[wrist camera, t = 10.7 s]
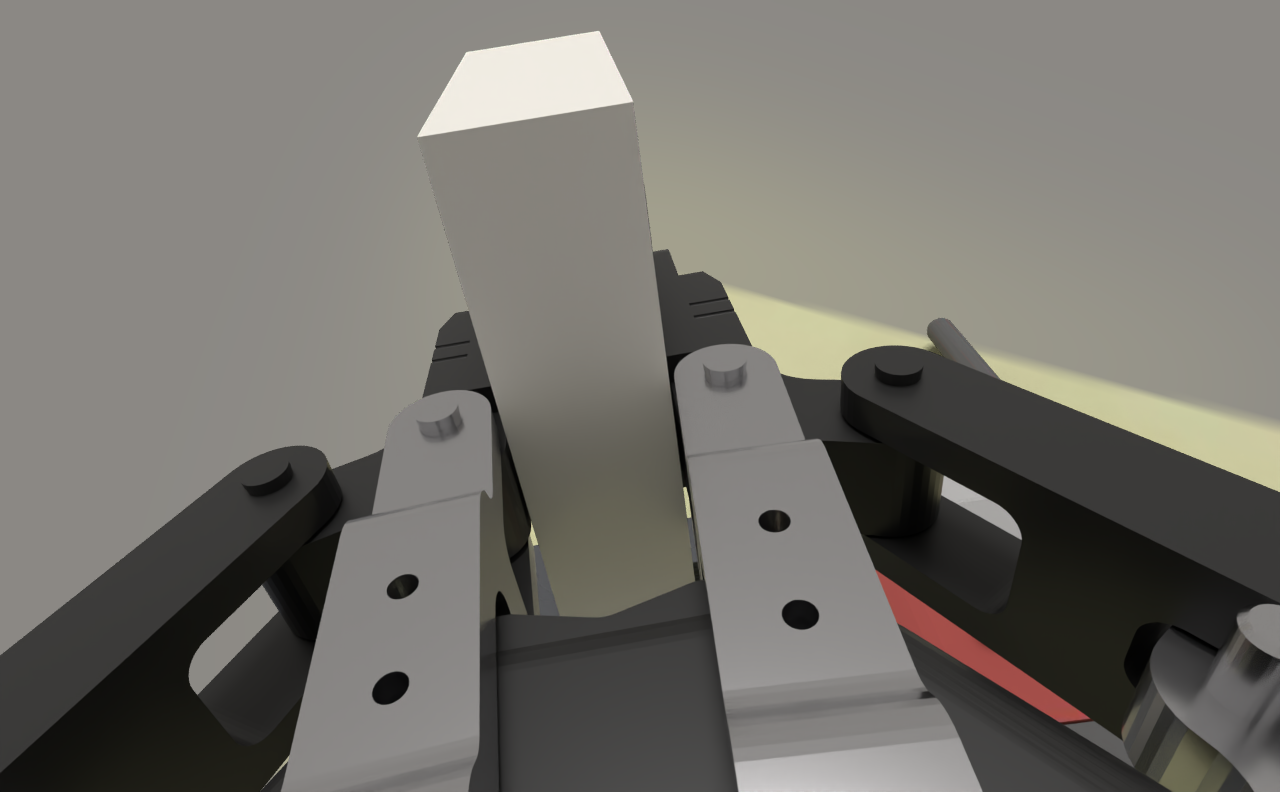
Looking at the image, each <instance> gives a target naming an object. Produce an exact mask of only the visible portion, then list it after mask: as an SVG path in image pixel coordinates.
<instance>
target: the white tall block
mask: <svg viewBox="0 0 1280 792" xmlns="http://www.w3.org/2000/svg"><path fill="white" fill-rule="evenodd" d="M417 139H418V143H419V146H420V149H421V153H422V156H423V159H424V163H425V166H426V169H427V173H428V176H429V179H430V183H431V186H432V189H433V193H434V196H435V199H436V203H437V206H438V210H439V213H440V216H441V219H442V223H443V226H444V230H445V233H446V236H447V240H448V243H449V246H450V250H451V253H452V256H453V260H454V263H455V267H456V270H457V273H458V277H459V280H460V283H461V287H462V290H463V293H464V296H465V300H466V303H467V307H468V310H469V314H470V317H471V320H472V324H473V327H474V330H475V334H476V337H477V340H478V344H479V347H480V350H481V354H482V357H483V360H484V364H485V367H486V370H487V374H488V377H489V381H490V384H491V387H492V391H493V394H494V397H495V401H496V404H497V407H498V411H499V414H500V417H501V421H502V424H503V427H504V431H505V434H506V438H507V441H508V444H509V448H510V451H511V454H512V458H513V461H514V464H515V468H516V471H517V474H518V478H519V481H520V484H521V488H522V491H523V495H524V498H525V501H526V505H527V508H528V511H529V515H530V518H531V521H532V525H533V528H534V531H535V535H536V538H537V541H538V545H539V548H540V551H541V555H542V558H543V562H544V565H545V568H546V572H547V575H548V578H549V582H550V585H551V588H552V592H553V595H554V598H555V602H556V605H557V608H558V612H559V615H560V616H570V617H605V616H609V615H612V614H615V613H618V612H620V611H623V610H625V609H627V608H630V607H632V606H635V605H637V604H640V603H642V602H645V601H647V600H650V599H652V598H655V597H657V596H660V595H662V594H665V593H667V592H669V591H672V590H674V589H677V588H679V587H682V586H684V585H687V584H689V583H692V582H695V576H694V568H693V561H692V553H691V545H690V537H689V530H688V522H687V514H686V507H685V499H684V491H683V483H682V476H681V468H680V460H679V452H678V445H677V437H676V429H675V422H674V414H673V406H672V398H671V391H670V383H669V375H668V367H667V360H666V352H665V344H664V336H663V326H662V318H661V311H660V303H659V295H658V287H657V280H656V272H655V264H654V256H653V250H652V241H651V233H650V226H649V218H648V210H647V203H646V195H645V187H644V182H643V174H642V166H641V159H640V151H639V144H638V136H637V129H636V120H635V112H634V104H633V101H632V99H631V96H630V94H629V92H628V90H627V88H626V86H625V84H624V82H623V80H622V78H621V75H620V73H619V71H618V69H617V67H616V65H615V63H614V61H613V59H612V57H611V55H610V53H609V50H608V48H607V46H606V44H605V42H604V40H603V38H602V36H601V34H600V32H599V31H595V32H589V33H582V34H576V35H570V36H564V37H558V38H552V39H545V40H539V41H533V42H527V43H521V44H515V45H508V46H502V47H496V48H490V49H484V50H478V51H471V52H467V53H466V54H465V56H464V57H463V59H462V61H461V63H460V64H459V66H458V68H457V69H456V71H455V73H454V75H453V76H452V78H451V80H450V82H449V84H448V85H447V87H446V88H445V90H444V92H443V94H442V95H441V97H440V99H439V100H438V102H437V104H436V105H435V107H434V109H433V111H432V113H431V114H430V116H429V117H428V120H427V121H426V123H425V124H424V126H423V128H422V130H421V131H420V133H419V135H418V137H417Z"/></svg>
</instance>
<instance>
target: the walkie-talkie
mask: <svg viewBox="0 0 1280 792" xmlns="http://www.w3.org/2000/svg"><path fill="white" fill-rule="evenodd" d="M927 335H928V337H929V338H930V340H931V341H932V342H933V343H934V345H935V346H936V347H937V349H938V350H939V351H940V352H941V354H942V355H943V356H944V357H945V358H947V359H950V360H952V361H955V362H957V363H960V364H962V365H965V366H967V367H970V368H972V369H975V370H977V371H980V372H982V373H985V374H987V375H990V376H992V377H995V378H997V379H1000V378H999V377H998V376H997V375H996V374H995V373H994V371H993V370H992V369H991V368H990V367H989V366H988V364H987V363H986V362H985V361H984V360H983V359H982V357H981V356H980V355H979V354H978V353H977V352H976V350H975V349H974V348H973V347H972V346H971V345H970V343H969V342H968V341H967V340H966V339H965V338H964V336H963V335H962V334H961V333H960V332H959V331H958V329H957V328H956V327H955V326H954V325H953V324H952V322H951V321H950V320H948V319H945V318H938V319H936V320H933V321H932V322H931V323H930V324H929V325H928V329H927ZM941 495H942V496H944V497H946V498H947V499H949V500H951V501H953V502H954V503H956V504H958V505H960V506H962V507H963V508H965V509H967V510H969V511H971V512H972V513H974V514H976V515H978V516H980V517H981V518H983V519H985V520H987V521H989V522H990V523H992V524H994V525H996V526H997V527H999V528H1001V529H1003V530H1005V531H1006V532H1008V533H1010V534H1012V535H1014V536H1015V537H1017V538H1019V539H1021V540H1022V537H1021V533H1020V530H1019V527H1018V525H1017V524H1016V522H1015V520H1014V519H1013V518H1012V517H1011V515H1010V514H1009V513H1008V512H1007V511H1006V510H1004V509H1003V508H1002V507H1001V506H999V505H998V504H996V503H994V502H992V501H991V500H989V499H987V498H985V497H983V496H981V495H979V494H977V493H976V492H974V491H972V490H970V489H968V488H966V487H964V486H962V485H961V484H959V483H957V482H955V481H953V480H951V479H949V478H947V477H946V476H944V479H943V486H942V493H941ZM876 573H877V575H878V578H879V580H880V583H881V585H882V588H883V590H884V592H885V595H886V597H887V600H888V602H889V605H890V607H891V610H892V612H893V614H894V617H895V619H896V622H897V623H898V624H900V625H902V626H903V627H905V628H907V629H908V630H910V631H912V632H913V633H915V634H917V635H918V636H920V637H921V638H923V639H925V640H926V641H928V642H930V643H931V644H933V645H934V646H936V647H938V648H939V649H941V650H943V651H944V652H946V653H948V654H949V655H951V656H952V657H954V658H956V659H957V660H959V661H961V662H962V663H964V664H965V665H967V666H969V667H970V668H972V669H974V670H975V671H977V672H979V673H980V674H982V675H983V676H985V677H987V678H988V679H990V680H992V681H993V682H995V683H996V684H998V685H1000V686H1001V687H1003V688H1005V689H1006V690H1008V691H1009V692H1011V693H1013V694H1014V695H1016V696H1018V697H1019V698H1021V699H1023V700H1024V701H1026V702H1027V703H1029V704H1031V705H1032V706H1034V707H1036V708H1037V709H1039V710H1040V711H1042V712H1044V713H1045V714H1047V715H1049V716H1050V717H1052V718H1053V719H1055V720H1057V721H1058V722H1060V723H1062V724H1063V725H1065V726H1067V727H1068V728H1070V729H1071V730H1073V731H1075V732H1076V733H1078V734H1080V735H1081V736H1083V737H1084V738H1086V739H1088V740H1089V741H1091V742H1093V743H1094V744H1096V745H1097V746H1099V747H1101V748H1102V749H1104V750H1106V751H1107V752H1109V753H1111V754H1112V755H1114V756H1115V757H1117V758H1119V759H1120V760H1122V761H1124V762H1125V763H1127V764H1128V765H1130V766H1132V767H1133V768H1134V766H1133V764H1132V762H1131V761H1130V759H1129V757H1128V755H1127V752H1126V750H1125V747H1124V744H1123V741H1122V740H1121V739H1119V738H1118V737H1116V736H1115V735H1114V734H1112V733H1111V732H1109V731H1108V730H1106V729H1105V728H1103V727H1102V726H1101V725H1099V724H1098V723H1096V722H1095V721H1093V720H1092V719H1090V718H1089V717H1088V716H1086V715H1085V714H1083V713H1082V712H1080V711H1079V710H1077V709H1076V708H1075V707H1073V706H1072V705H1070V704H1069V703H1067V702H1066V701H1064V700H1063V699H1062V698H1060V697H1059V696H1057V695H1056V694H1054V693H1053V692H1051V691H1050V690H1049V689H1047V688H1046V687H1044V686H1043V685H1041V684H1040V683H1038V682H1037V681H1036V680H1034V679H1033V678H1031V677H1030V676H1028V675H1027V674H1025V673H1024V672H1023V671H1021V670H1020V669H1018V668H1017V667H1015V666H1014V665H1012V664H1011V663H1010V662H1008V661H1007V660H1005V659H1004V658H1002V657H1001V656H999V655H998V654H997V653H995V652H994V651H992V650H991V649H989V648H988V647H986V646H985V645H984V644H982V643H981V642H979V641H978V640H976V639H975V638H973V637H972V636H971V635H969V634H968V633H966V632H965V631H963V630H962V629H960V628H959V627H958V626H956V625H955V624H953V623H952V622H950V621H949V620H947V619H946V618H945V617H943V616H942V615H940V614H939V613H937V612H936V611H934V610H933V609H932V608H930V607H929V606H927V605H926V604H924V603H923V602H921V601H920V600H919V599H917V598H916V597H914V596H913V595H911V594H910V593H908V592H907V591H906V590H904V589H903V588H901V587H900V586H898V585H897V584H895V583H894V582H893V581H891V580H890V579H888V578H887V577H885V576H884V575H882V574H881V573H880V572H878V571H877V570H876Z"/></svg>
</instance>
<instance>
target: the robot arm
mask: <svg viewBox="0 0 1280 792" xmlns="http://www.w3.org/2000/svg"><path fill="white" fill-rule="evenodd" d="M653 256H654V264H655V272H656V280H657V287H658V295H659V303H660V311H661V318H662V326H663V336H664V344H665V352H666V360H667V367H668V375H669V383H670V391H671V398H672V406H673V414H674V422H675V429H676V437H677V445H678V452H679V460H680V468H681V476H682V483H683V487H686V488H687V492H688V496H689V502H690V510H691V518H692V526H693V533H694V540H695V547H696V554H697V561H698V568H699V575H700V581H695V582H692V583H689V584H687V585H684V586H682V587H679V588H677V589H674V590H672V591H669V592H667V593H665V594H662V595H660V596H657V597H655V598H652V599H650V600H647V601H645V602H642V603H640V604H637V605H635V606H632V607H630V608H627V609H625V610H623V611H620V612H618V613H615V614H612V615H609V616H605V617H570V616H545V615H540V609H539V598H538V586H537V574H536V563H535V552H534V547H533V544H532V540H531V537H530V532H531V518H530V515H529V511H528V508H527V505H526V501H525V498H524V495H523V491H522V488H521V484H520V481H519V478H518V474H517V471H516V468H515V464H514V461H513V458H512V454H511V451H510V448H509V444H508V441H507V438H506V434H505V431H504V427H503V424H502V421H501V417H500V414H499V411H498V407H497V404H496V401H495V397H494V394H493V391H492V387H491V384H490V381H489V377H488V374H487V370H486V367H485V364H484V360H483V357H482V354H481V350H480V347H479V344H478V340H477V337H476V334H475V330H474V327H473V324H472V320H471V317H470V314H469V311H465V312H459V313H455V314H454V315H453V316H452V317H451V318H450V319H449V320H448V321H447V322H446V323H445V325H443V327H442V328H441V329H440V330H439V334H438V338H437V342H436V346H435V347H436V349H435V350H434V354H433V358H432V363H431V366H430V370H429V374H428V378H427V382H426V386H425V390H424V394H423V398H422V399H420V400H417V401H415V402H414V403H412V404H410V405H409V406H407V407H406V408H404V409H403V410H402V411H401V412H399V413H398V414H397V415H396V416H395V418H394V419H393V420H392V422H391V423H390V425H389V428H388V431H387V436H386V442H385V447H384V449H382V450H380V451H378V452H376V453H374V454H371V455H369V456H366V457H364V458H361V459H359V460H356V461H353V462H350V463H348V464H345V465H343V466H339V467H337V468H335V469H331V467H330V465H329V463H328V460H327V458H326V456H325V455H324V454H323V453H322V451H320V450H318V449H316V448H313V447H308V446H290V447H284V448H280V449H276V450H272V451H269V452H266V453H264V454H261V455H259V456H257V457H255V458H253V459H251V460H249V461H247V462H245V463H244V464H242V465H240V466H239V467H238V468H236V469H235V470H233V471H232V472H231V473H229V474H228V475H227V476H226V477H224V478H223V479H222V480H221V481H220V482H218V483H217V484H216V485H214V486H213V487H212V488H211V489H209V490H208V491H207V492H206V493H204V494H203V495H202V496H201V497H199V498H198V499H197V500H195V501H194V502H193V503H192V504H190V505H189V506H188V507H187V508H185V509H184V510H183V511H182V512H181V513H179V514H178V515H177V516H175V517H174V518H173V519H172V520H170V521H169V522H168V523H167V524H165V525H164V526H163V527H162V528H160V529H159V530H158V531H156V532H155V533H154V534H153V535H151V536H150V537H149V538H148V539H146V540H145V541H144V542H143V543H142V544H140V545H139V546H138V547H136V548H135V549H134V550H133V551H131V552H130V553H129V554H128V555H126V556H125V557H124V558H123V559H121V560H120V561H119V562H117V563H116V564H115V565H114V566H112V567H111V568H110V569H109V570H107V571H106V572H105V573H104V574H102V575H101V576H100V577H99V578H97V579H96V580H95V581H93V582H92V583H91V584H90V585H89V586H87V587H86V588H85V589H83V590H82V591H81V592H80V593H78V594H77V595H76V596H75V597H73V598H72V599H71V600H70V601H69V602H67V603H66V604H65V605H63V606H62V607H61V608H60V609H58V610H57V611H56V612H54V613H53V614H52V615H51V616H49V617H48V618H47V619H46V620H45V621H43V622H42V623H41V624H39V625H38V626H37V627H36V628H34V629H33V630H32V631H31V632H29V633H28V634H27V635H26V636H24V637H23V638H22V639H20V640H19V641H18V642H17V643H15V644H14V645H13V646H12V647H11V648H9V649H8V650H7V651H5V652H4V653H3V654H2V655H0V792H1280V492H1278V491H1275V490H1273V489H1270V488H1268V487H1266V486H1263V485H1261V484H1258V483H1256V482H1253V481H1251V480H1248V479H1246V478H1243V477H1241V476H1238V475H1236V474H1233V473H1231V472H1228V471H1226V470H1223V469H1221V468H1218V467H1216V466H1213V465H1211V464H1208V463H1206V462H1203V461H1201V460H1198V459H1196V458H1193V457H1191V456H1188V455H1186V454H1184V453H1181V452H1179V451H1176V450H1174V449H1171V448H1169V447H1166V446H1164V445H1161V444H1159V443H1156V442H1154V441H1151V440H1149V439H1146V438H1144V437H1141V436H1139V435H1136V434H1134V433H1131V432H1129V431H1126V430H1124V429H1121V428H1119V427H1116V426H1114V425H1111V424H1109V423H1106V422H1104V421H1102V420H1099V419H1097V418H1094V417H1092V416H1089V415H1087V414H1084V413H1082V412H1079V411H1077V410H1074V409H1072V408H1069V407H1067V406H1064V405H1062V404H1059V403H1057V402H1054V401H1052V400H1049V399H1047V398H1044V397H1042V396H1039V395H1037V394H1034V393H1032V392H1029V391H1027V390H1025V389H1022V388H1020V387H1017V386H1015V385H1012V384H1010V383H1007V382H1005V381H1002V380H1000V379H997V378H995V377H992V376H990V375H987V374H985V373H982V372H980V371H977V370H975V369H972V368H970V367H967V366H965V365H962V364H960V363H957V362H955V361H952V360H950V359H947V358H945V357H943V356H940V355H938V354H935V353H933V352H930V351H927V350H924V349H920V348H915V347H909V346H881V347H875V348H870V349H867V350H864V351H861V352H859V353H857V354H855V355H853V356H852V357H850V358H849V359H848V360H847V361H846V362H845V364H844V365H843V367H842V371H841V380H816V379H802V378H795V377H791V376H786V375H783V374H780V371H779V369H778V366H777V364H776V362H775V360H774V359H773V358H772V356H771V355H769V354H768V353H766V352H765V351H763V350H761V349H758V348H755V347H752V345H751V343H750V341H749V339H748V337H747V335H746V333H745V331H744V329H743V327H742V324H741V322H740V320H739V318H738V316H737V314H736V312H734V308H733V306H732V304H731V302H730V300H728V296H727V294H726V292H725V290H724V288H723V285H722V283H721V282H720V281H718V280H716V279H714V278H713V277H711V276H709V275H708V274H706V273H704V272H703V271H702V272H697V273H691V274H685V275H679V276H678V273H677V271H676V268H675V266H674V263H673V260H672V258H671V255H670V252H669V250H668V249H666V250H660V251H655V252H653ZM944 476H946V477H947V478H949V479H951V480H953V481H955V482H957V483H959V484H961V485H962V486H964V487H966V488H968V489H970V490H972V491H974V492H976V493H977V494H979V495H981V496H983V497H985V498H987V499H989V500H991V501H992V502H994V503H996V504H998V505H999V506H1001V507H1002V508H1003V509H1004V510H1006V511H1007V512H1008V513H1009V514H1010V515H1011V517H1012V518H1013V519H1014V520H1015V522H1016V524H1017V525H1018V527H1019V530H1020V533H1021V537H1022V540H1021V539H1019V538H1017V537H1015V536H1014V535H1012V534H1010V533H1008V532H1006V531H1005V530H1003V529H1001V528H999V527H997V526H996V525H994V524H992V523H990V522H989V521H987V520H985V519H983V518H981V517H980V516H978V515H976V514H974V513H972V512H971V511H969V510H967V509H965V508H963V507H962V506H960V505H958V504H956V503H954V502H953V501H951V500H949V499H947V498H946V497H944V496H942V495H941V493H942V486H943V479H944ZM876 570H877V571H878V572H880V573H881V574H882V575H884V576H885V577H887V578H888V579H890V580H891V581H893V582H894V583H895V584H897V585H898V586H900V587H901V588H903V589H904V590H906V591H907V592H908V593H910V594H911V595H913V596H914V597H916V598H917V599H919V600H920V601H921V602H923V603H924V604H926V605H927V606H929V607H930V608H932V609H933V610H934V611H936V612H937V613H939V614H940V615H942V616H943V617H945V618H946V619H947V620H949V621H950V622H952V623H953V624H955V625H956V626H958V627H959V628H960V629H962V630H963V631H965V632H966V633H968V634H969V635H971V636H972V637H973V638H975V639H976V640H978V641H979V642H981V643H982V644H984V645H985V646H986V647H988V648H989V649H991V650H992V651H994V652H995V653H997V654H998V655H999V656H1001V657H1002V658H1004V659H1005V660H1007V661H1008V662H1010V663H1011V664H1012V665H1014V666H1015V667H1017V668H1018V669H1020V670H1021V671H1023V672H1024V673H1025V674H1027V675H1028V676H1030V677H1031V678H1033V679H1034V680H1036V681H1037V682H1038V683H1040V684H1041V685H1043V686H1044V687H1046V688H1047V689H1049V690H1050V691H1051V692H1053V693H1054V694H1056V695H1057V696H1059V697H1060V698H1062V699H1063V700H1064V701H1066V702H1067V703H1069V704H1070V705H1072V706H1073V707H1075V708H1076V709H1077V710H1079V711H1080V712H1082V713H1083V714H1085V715H1086V716H1088V717H1089V718H1090V719H1092V720H1093V721H1095V722H1096V723H1098V724H1099V725H1101V726H1102V727H1103V728H1105V729H1106V730H1108V731H1109V732H1111V733H1112V734H1114V735H1115V736H1116V737H1118V738H1119V739H1121V740H1122V741H1123V744H1124V747H1125V750H1126V752H1127V755H1128V757H1129V759H1130V761H1131V762H1132V764H1133V766H1134V768H1133V767H1132V766H1130V765H1128V764H1127V763H1125V762H1124V761H1122V760H1120V759H1119V758H1117V757H1115V756H1114V755H1112V754H1111V753H1109V752H1107V751H1106V750H1104V749H1102V748H1101V747H1099V746H1097V745H1096V744H1094V743H1093V742H1091V741H1089V740H1088V739H1086V738H1084V737H1083V736H1081V735H1080V734H1078V733H1076V732H1075V731H1073V730H1071V729H1070V728H1068V727H1067V726H1065V725H1063V724H1062V723H1060V722H1058V721H1057V720H1055V719H1053V718H1052V717H1050V716H1049V715H1047V714H1045V713H1044V712H1042V711H1040V710H1039V709H1037V708H1036V707H1034V706H1032V705H1031V704H1029V703H1027V702H1026V701H1024V700H1023V699H1021V698H1019V697H1018V696H1016V695H1014V694H1013V693H1011V692H1009V691H1008V690H1006V689H1005V688H1003V687H1001V686H1000V685H998V684H996V683H995V682H993V681H992V680H990V679H988V678H987V677H985V676H983V675H982V674H980V673H979V672H977V671H975V670H974V669H972V668H970V667H969V666H967V665H965V664H964V663H962V662H961V661H959V660H957V659H956V658H954V657H952V656H951V655H949V654H948V653H946V652H944V651H943V650H941V649H939V648H938V647H936V646H934V645H933V644H931V643H930V642H928V641H926V640H925V639H923V638H921V637H920V636H918V635H917V634H915V633H913V632H912V631H910V630H908V629H907V628H905V627H903V626H902V625H900V624H898V623H897V622H896V619H895V617H894V614H893V612H892V610H891V607H890V605H889V602H888V600H887V597H886V595H885V592H884V590H883V588H882V585H881V583H880V580H879V578H878V575H877V573H876ZM261 585H263V587H264V588H265V590H266V591H267V593H268V595H269V596H270V598H271V599H272V601H273V603H274V604H275V606H276V607H277V609H278V610H279V612H278V613H277V614H276V615H275V616H274V617H273V618H272V619H271V620H270V621H269V622H268V623H267V624H266V625H265V626H264V627H263V628H262V629H261V630H260V631H259V633H257V634H256V636H255V637H253V638H252V640H251V641H250V642H249V643H248V644H247V645H246V646H245V647H244V648H243V649H242V650H241V651H240V652H239V653H238V654H237V655H236V656H235V657H234V658H233V659H232V660H231V661H230V662H229V663H228V664H227V665H226V666H225V667H224V668H223V669H222V671H220V673H219V674H218V675H217V676H216V677H215V678H214V679H213V680H212V681H211V682H210V683H209V684H208V685H207V686H206V687H205V688H204V689H203V690H202V691H201V692H200V693H199V694H198V695H197V694H196V693H195V692H194V691H193V689H192V687H191V686H190V683H189V677H188V675H189V667H190V664H191V661H192V658H193V656H194V654H195V653H196V651H197V649H198V648H199V647H200V645H201V644H202V643H203V642H204V641H205V640H206V639H207V638H208V637H209V636H210V635H211V634H212V633H213V632H214V631H215V630H216V629H217V628H218V627H219V626H220V625H221V624H222V623H223V622H224V621H225V620H226V619H227V618H228V617H229V616H230V615H231V614H232V613H234V612H235V611H236V609H237V608H239V607H240V606H241V605H242V604H243V603H244V602H245V601H246V600H247V599H248V598H249V597H250V596H251V595H252V594H253V593H254V592H255V591H256V590H257V589H258V588H259V587H260V586H261ZM289 755H290V756H289ZM288 756H289V760H288V762H287V763H286V764H285V765H284V766H283V767H282V769H281V770H280V771H279V772H278V773H277V774H276V775H275V776H274V777H273V778H272V779H271V780H270V778H271V777H272V776H273V775H274V774H275V772H276V771H277V770H278V769H279V767H280V766H281V765H282V764H283V762H284V761H285V760H286V759H287V757H288ZM269 780H270V782H269V783H268V784H267V785H266V783H267V782H268V781H269ZM265 785H266V786H265ZM264 786H265V787H264ZM263 787H264V788H263ZM262 788H263V789H262Z"/></svg>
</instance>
